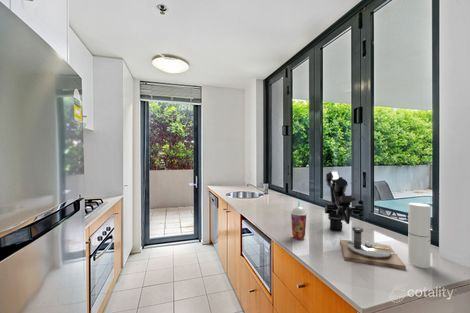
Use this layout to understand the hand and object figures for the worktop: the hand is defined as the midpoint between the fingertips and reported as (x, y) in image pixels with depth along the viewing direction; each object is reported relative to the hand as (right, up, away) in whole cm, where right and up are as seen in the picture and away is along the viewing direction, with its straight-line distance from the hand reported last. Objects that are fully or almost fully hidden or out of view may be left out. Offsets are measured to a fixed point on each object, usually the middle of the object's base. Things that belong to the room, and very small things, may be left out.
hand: (348, 223), depth 111 cm
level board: (+4, -11, -9) cm, 15 cm away
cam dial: (+4, -9, -9) cm, 14 cm away
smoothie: (-22, -11, +11) cm, 27 cm away
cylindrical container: (+20, -11, -19) cm, 30 cm away
